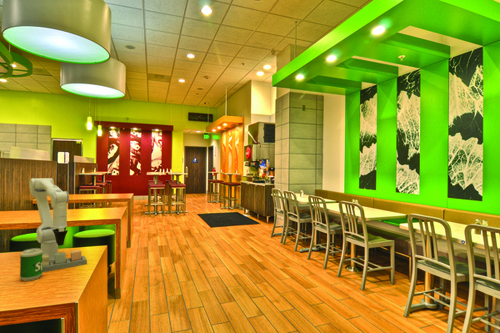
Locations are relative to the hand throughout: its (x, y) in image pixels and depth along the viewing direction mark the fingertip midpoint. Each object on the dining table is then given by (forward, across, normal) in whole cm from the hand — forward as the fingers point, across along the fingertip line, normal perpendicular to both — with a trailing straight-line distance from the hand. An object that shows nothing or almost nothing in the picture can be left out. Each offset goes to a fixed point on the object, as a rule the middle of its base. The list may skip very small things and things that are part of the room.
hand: (59, 244), depth 136 cm
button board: (+10, +3, 0) cm, 10 cm away
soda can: (+10, +12, -11) cm, 19 cm away
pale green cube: (+8, +3, 0) cm, 8 cm away
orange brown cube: (+8, +3, +6) cm, 10 cm away
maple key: (+8, +3, -7) cm, 11 cm away
